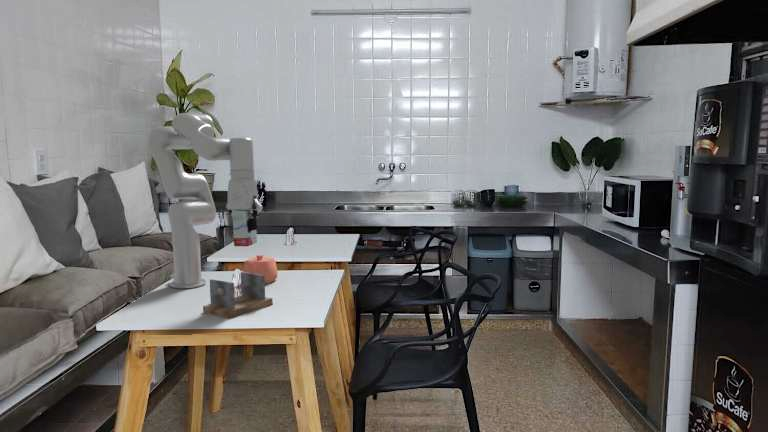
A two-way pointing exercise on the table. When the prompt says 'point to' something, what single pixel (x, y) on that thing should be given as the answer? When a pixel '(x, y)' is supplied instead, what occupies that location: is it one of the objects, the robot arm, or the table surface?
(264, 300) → the wooden stand
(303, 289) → the table surface
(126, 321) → the table surface
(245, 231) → the ink box
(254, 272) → the teapot
